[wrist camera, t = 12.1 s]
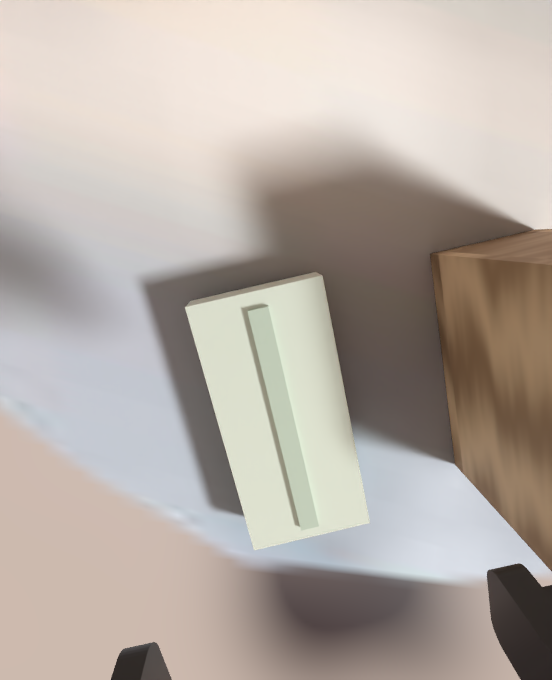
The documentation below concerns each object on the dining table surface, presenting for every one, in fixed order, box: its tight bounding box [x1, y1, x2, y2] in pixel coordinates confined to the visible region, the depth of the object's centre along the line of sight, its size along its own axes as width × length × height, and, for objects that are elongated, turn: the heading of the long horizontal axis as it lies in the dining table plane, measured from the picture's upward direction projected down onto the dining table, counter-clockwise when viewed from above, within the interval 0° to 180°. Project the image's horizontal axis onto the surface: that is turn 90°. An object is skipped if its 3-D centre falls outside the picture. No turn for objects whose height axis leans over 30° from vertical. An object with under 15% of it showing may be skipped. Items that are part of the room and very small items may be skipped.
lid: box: [185, 272, 370, 550], centre depth 22 cm, size 14×7×3 cm, turn 13°
